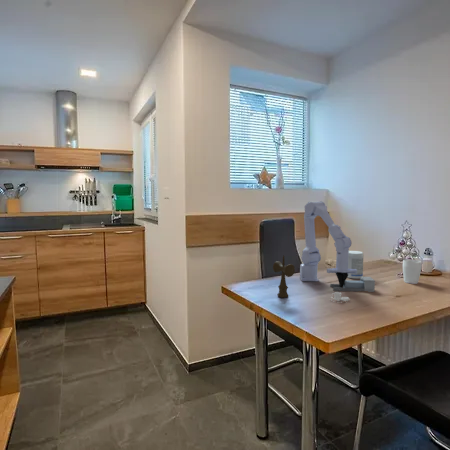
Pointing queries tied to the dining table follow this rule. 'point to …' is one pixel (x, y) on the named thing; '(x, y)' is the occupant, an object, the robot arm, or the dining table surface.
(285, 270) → the kendama
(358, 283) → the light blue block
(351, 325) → the dining table surface
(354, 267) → the supplement tub
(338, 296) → the teacup and saucer
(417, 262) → the cup
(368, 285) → the track
